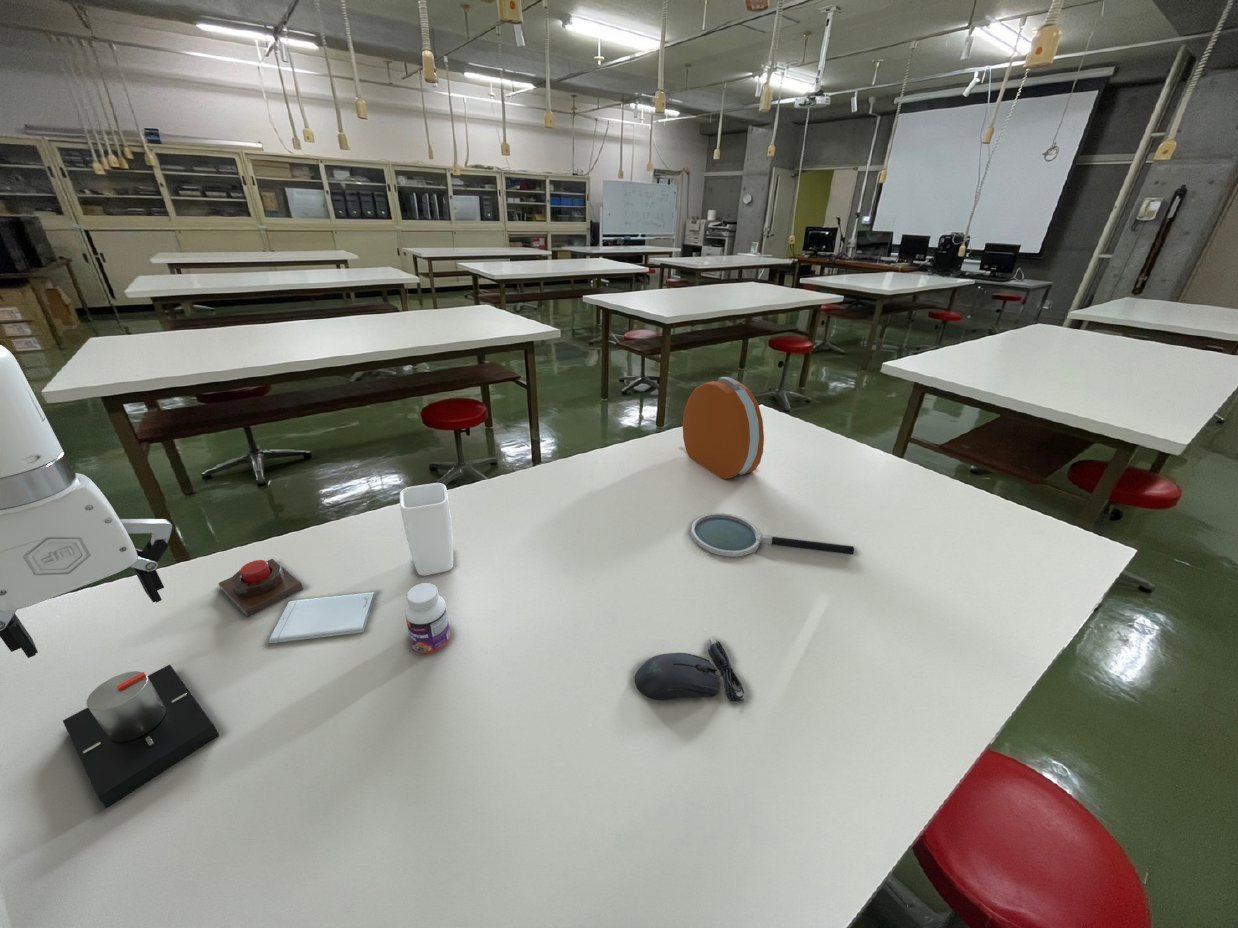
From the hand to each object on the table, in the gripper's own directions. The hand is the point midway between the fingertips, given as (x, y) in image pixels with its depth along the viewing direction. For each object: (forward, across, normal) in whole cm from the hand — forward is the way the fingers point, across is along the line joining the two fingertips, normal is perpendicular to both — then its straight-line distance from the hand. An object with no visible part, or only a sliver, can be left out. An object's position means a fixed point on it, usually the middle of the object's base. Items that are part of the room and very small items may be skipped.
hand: (96, 621), depth 53 cm
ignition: (+17, +18, +15) cm, 28 cm away
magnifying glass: (+16, +83, -46) cm, 96 cm away
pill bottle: (+17, +28, -15) cm, 36 cm away
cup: (+17, +39, -1) cm, 42 cm away
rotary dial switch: (+17, -1, -2) cm, 17 cm away
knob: (+14, -1, -2) cm, 14 cm away
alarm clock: (+16, +109, -22) cm, 112 cm away
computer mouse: (+16, +45, -48) cm, 68 cm away
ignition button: (+13, +18, +15) cm, 26 cm away
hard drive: (+17, +21, +1) cm, 27 cm away
